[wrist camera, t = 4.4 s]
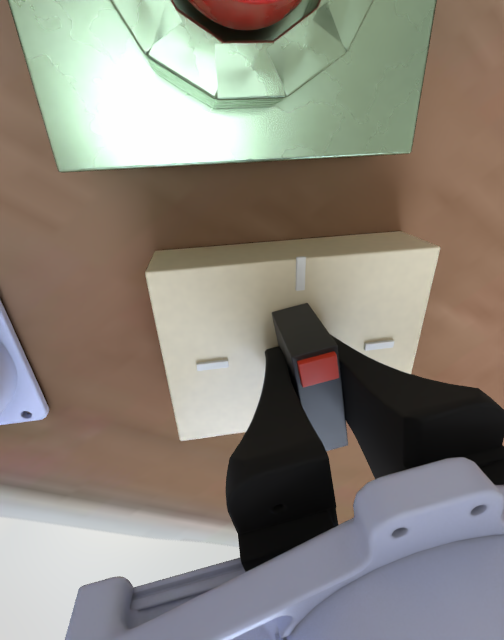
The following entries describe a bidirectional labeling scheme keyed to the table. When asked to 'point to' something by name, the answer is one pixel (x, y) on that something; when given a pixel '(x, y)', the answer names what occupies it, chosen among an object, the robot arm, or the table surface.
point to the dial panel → (272, 295)
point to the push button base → (223, 81)
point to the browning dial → (313, 371)
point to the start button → (245, 12)
